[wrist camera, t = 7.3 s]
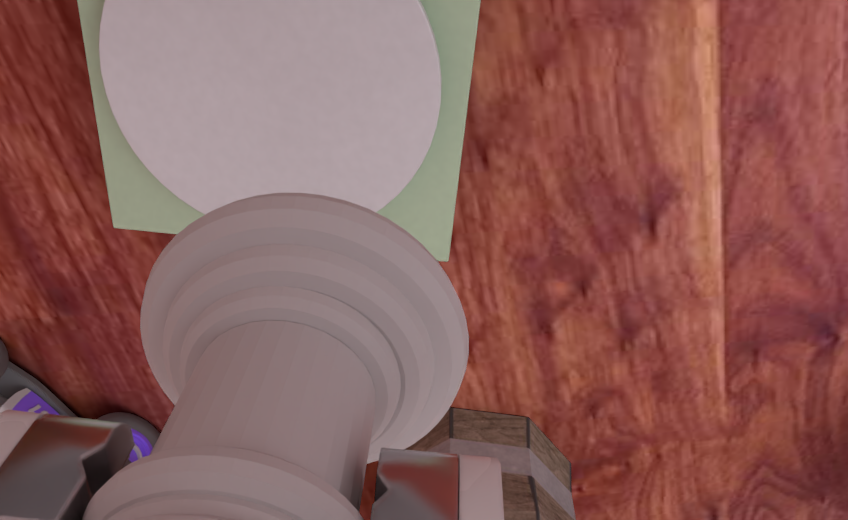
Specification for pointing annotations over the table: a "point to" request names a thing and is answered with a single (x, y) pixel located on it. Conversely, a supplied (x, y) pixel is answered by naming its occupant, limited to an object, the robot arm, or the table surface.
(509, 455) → the mug
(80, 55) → the table surface
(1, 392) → the toy race car
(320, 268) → the chess piece
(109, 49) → the scale
